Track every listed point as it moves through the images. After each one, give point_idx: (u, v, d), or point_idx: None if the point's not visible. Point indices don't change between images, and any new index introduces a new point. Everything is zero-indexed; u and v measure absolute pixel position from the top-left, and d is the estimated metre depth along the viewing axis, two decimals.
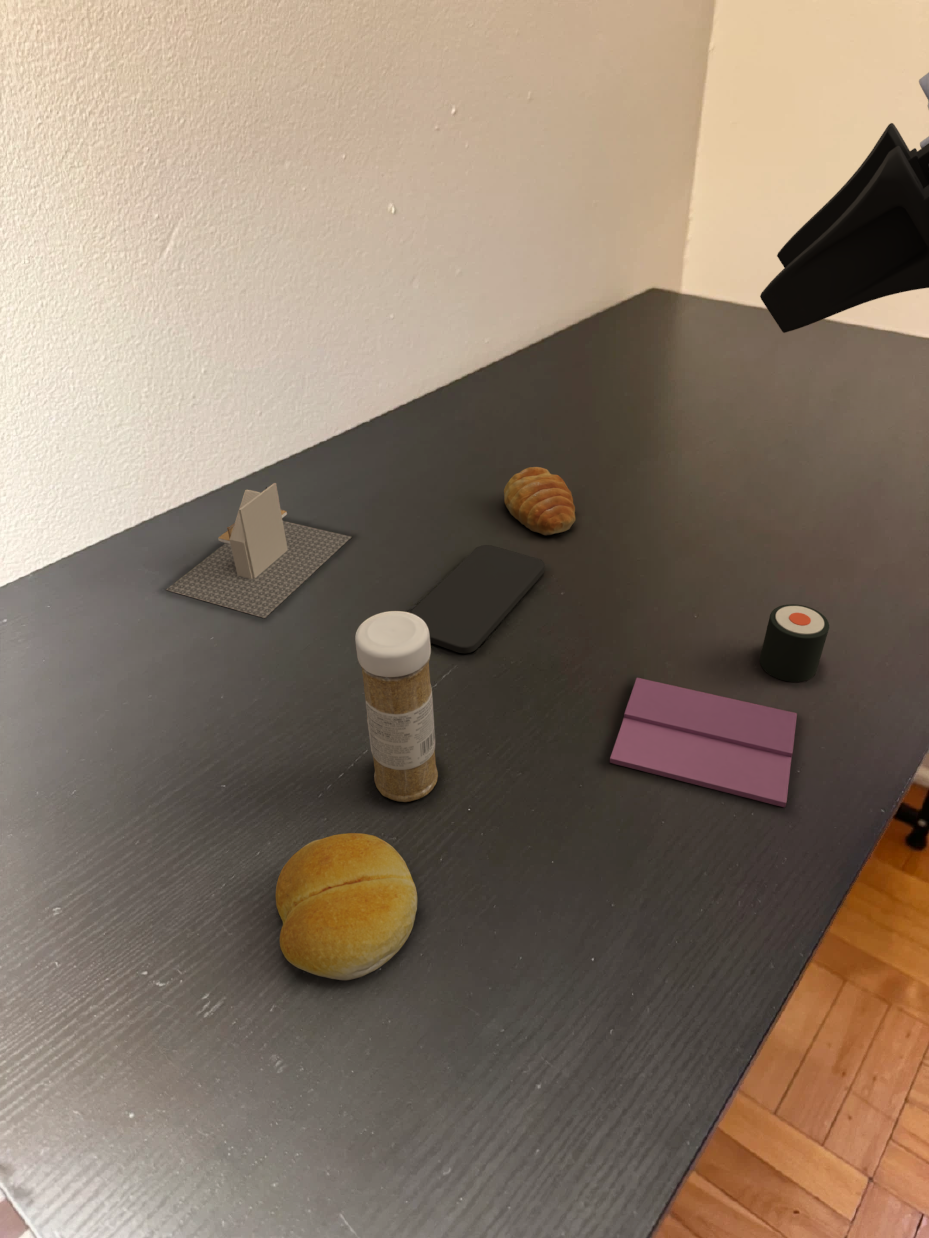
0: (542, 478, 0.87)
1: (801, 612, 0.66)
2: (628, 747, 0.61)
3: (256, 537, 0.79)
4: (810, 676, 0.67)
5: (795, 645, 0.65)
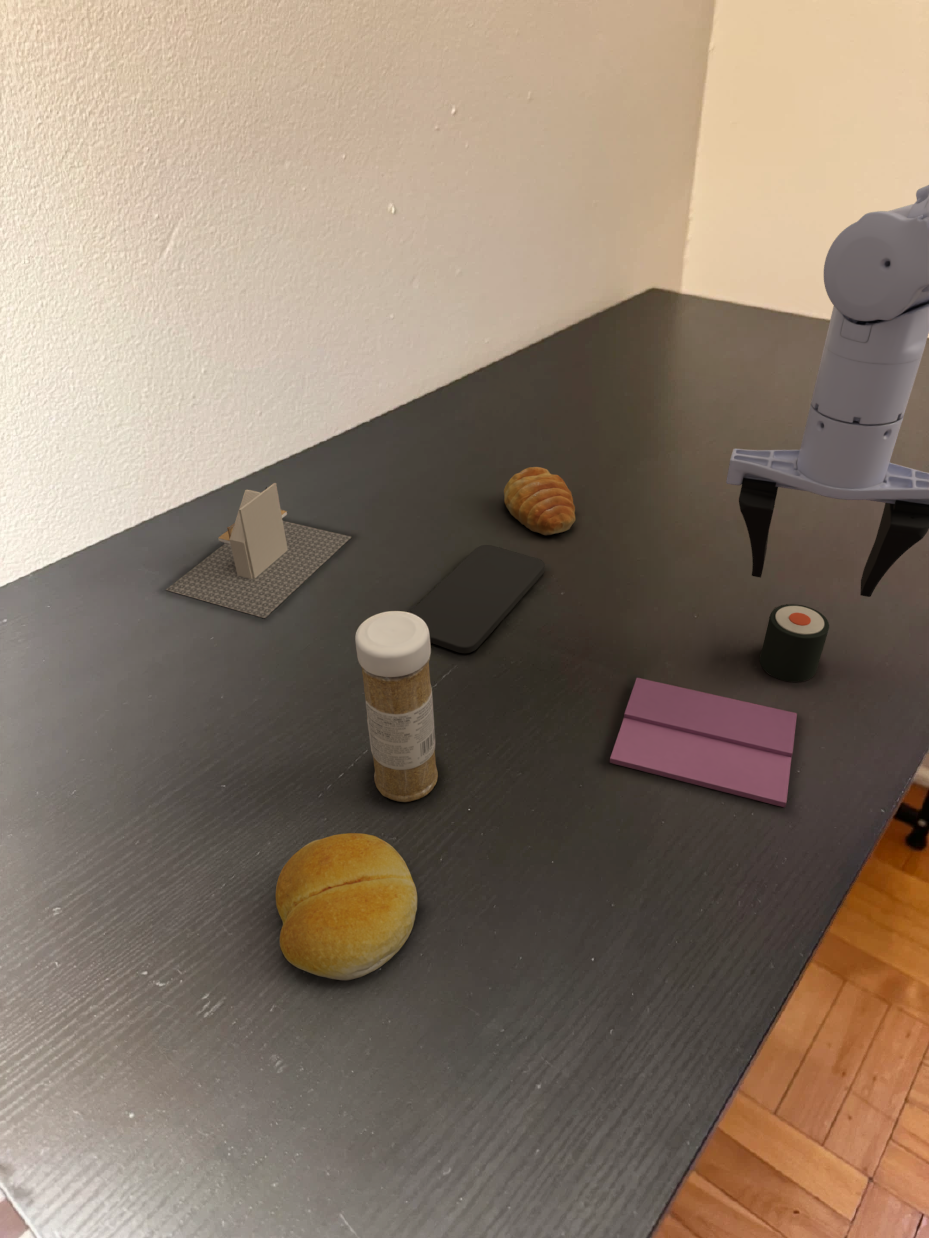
0: (542, 478, 0.87)
1: (801, 612, 0.66)
2: (628, 747, 0.61)
3: (256, 537, 0.79)
4: (810, 676, 0.67)
5: (795, 645, 0.65)
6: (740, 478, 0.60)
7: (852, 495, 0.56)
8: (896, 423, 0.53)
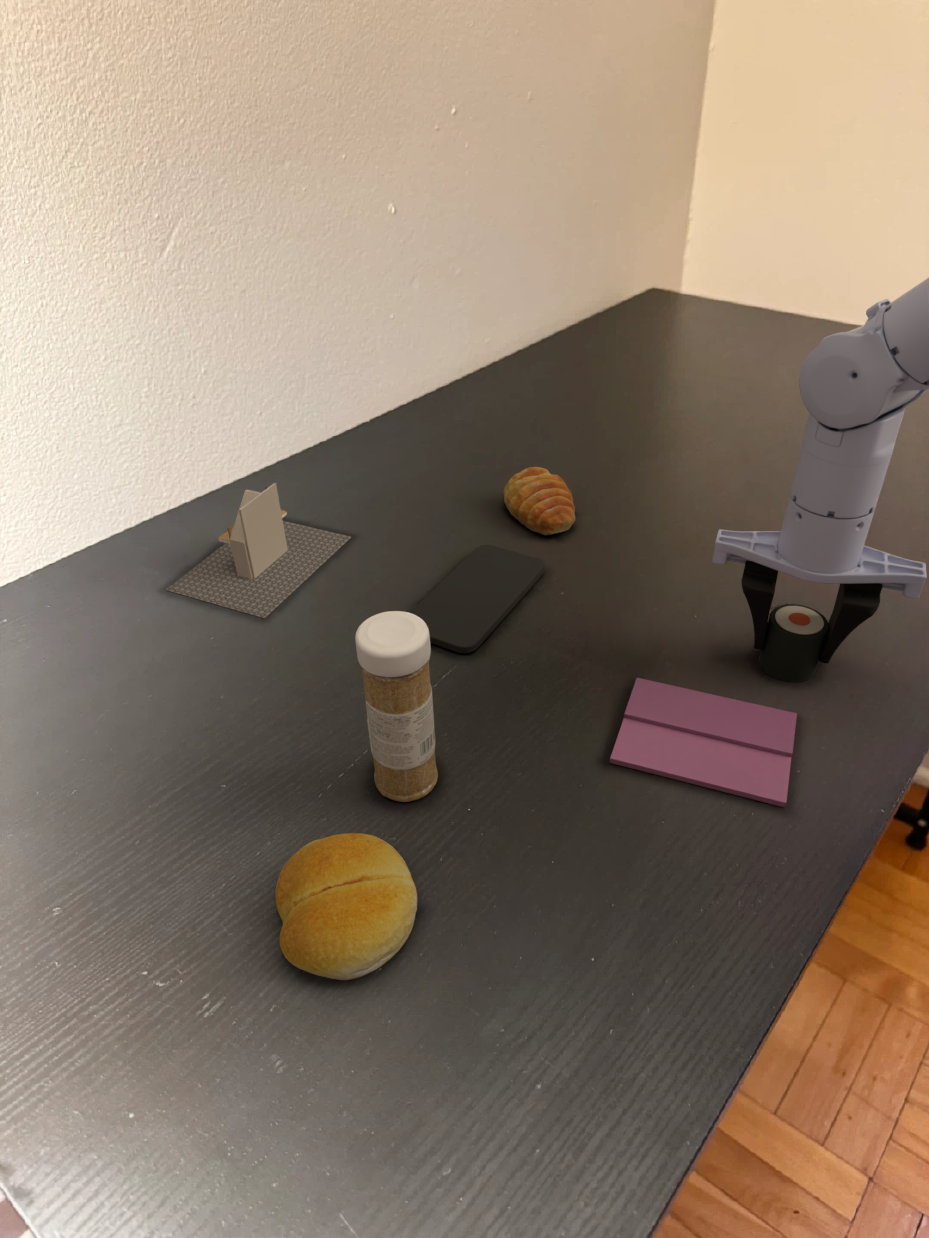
0: (542, 478, 0.87)
1: (800, 612, 0.66)
2: (628, 747, 0.61)
3: (256, 537, 0.79)
4: (810, 676, 0.67)
5: (794, 645, 0.65)
6: (725, 558, 0.64)
7: (828, 579, 0.60)
8: (868, 516, 0.58)
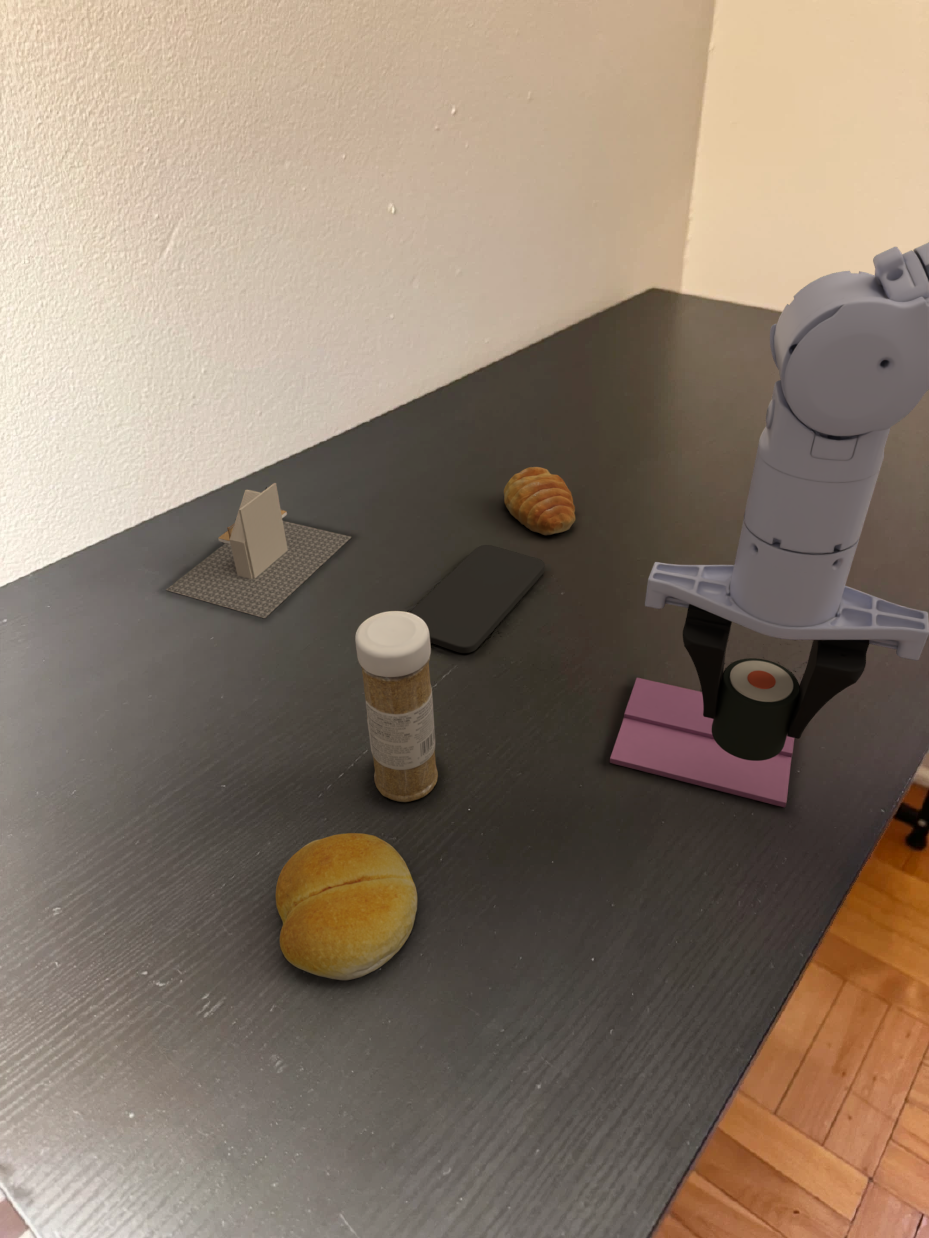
0: (542, 478, 0.87)
1: (764, 670, 0.51)
2: (628, 747, 0.61)
3: (256, 537, 0.79)
4: (775, 753, 0.51)
5: (754, 716, 0.49)
6: (661, 601, 0.48)
7: (795, 635, 0.44)
8: (848, 550, 0.42)
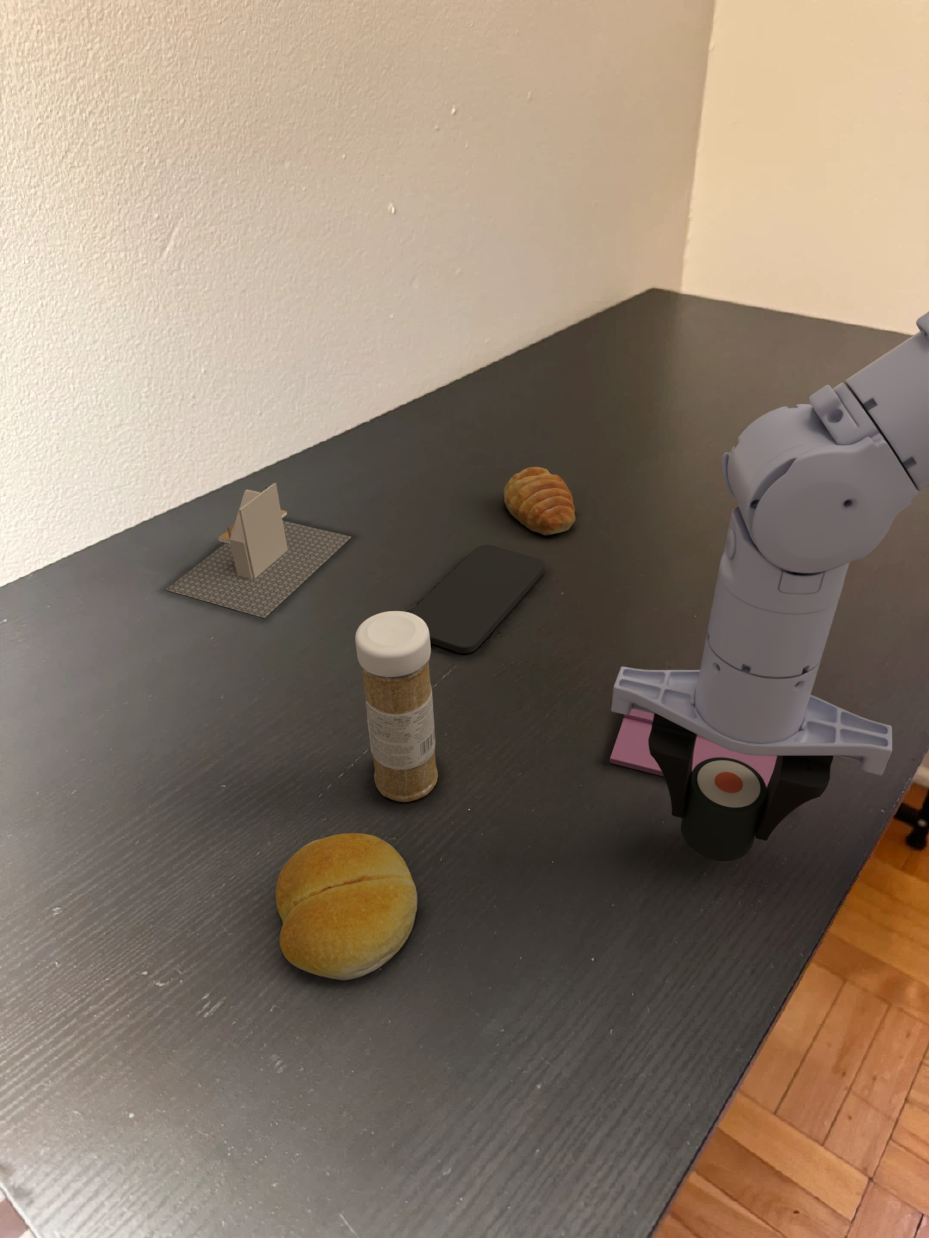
0: (542, 478, 0.87)
1: (731, 771, 0.51)
2: (628, 747, 0.61)
3: (256, 537, 0.79)
4: (744, 853, 0.51)
5: (721, 821, 0.49)
6: (627, 707, 0.48)
7: (758, 751, 0.44)
8: (810, 671, 0.42)
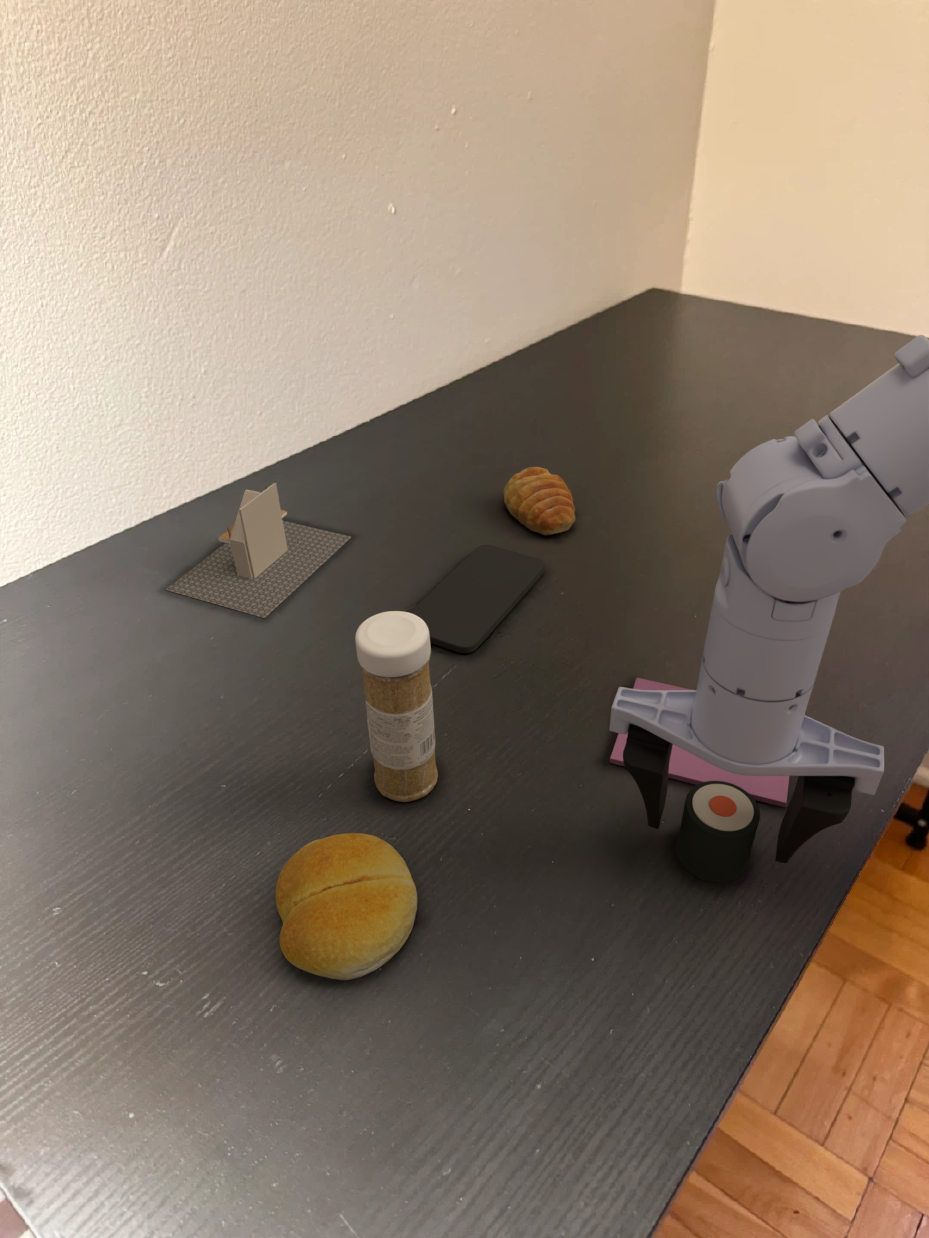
0: (542, 478, 0.87)
1: (725, 794, 0.52)
2: None
3: (256, 537, 0.79)
4: (738, 875, 0.52)
5: (715, 844, 0.50)
6: (625, 727, 0.49)
7: (753, 771, 0.45)
8: (803, 695, 0.43)
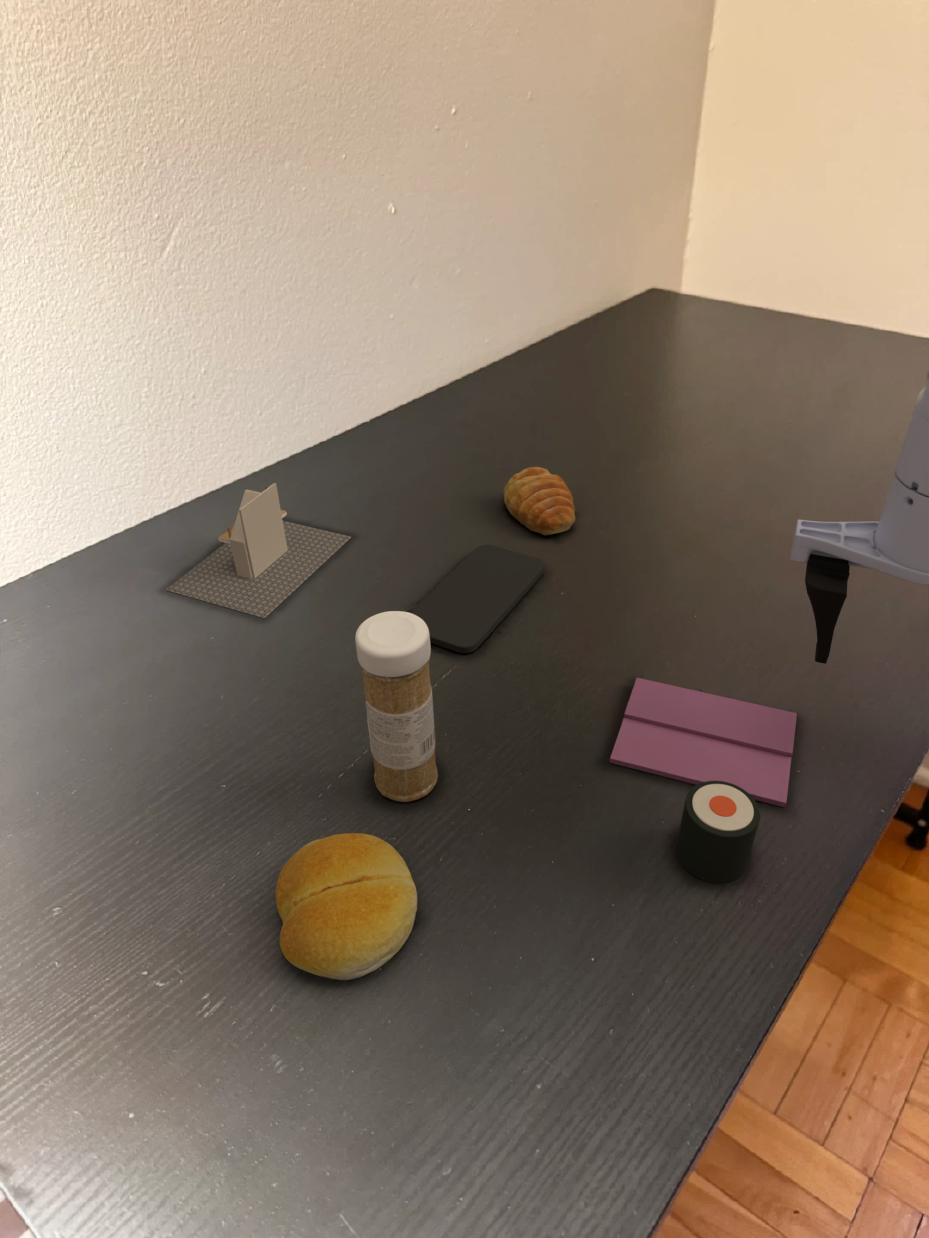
0: (542, 478, 0.87)
1: (725, 794, 0.52)
2: (628, 747, 0.61)
3: (256, 537, 0.79)
4: (738, 875, 0.52)
5: (715, 844, 0.50)
6: (806, 555, 0.52)
7: None
8: None
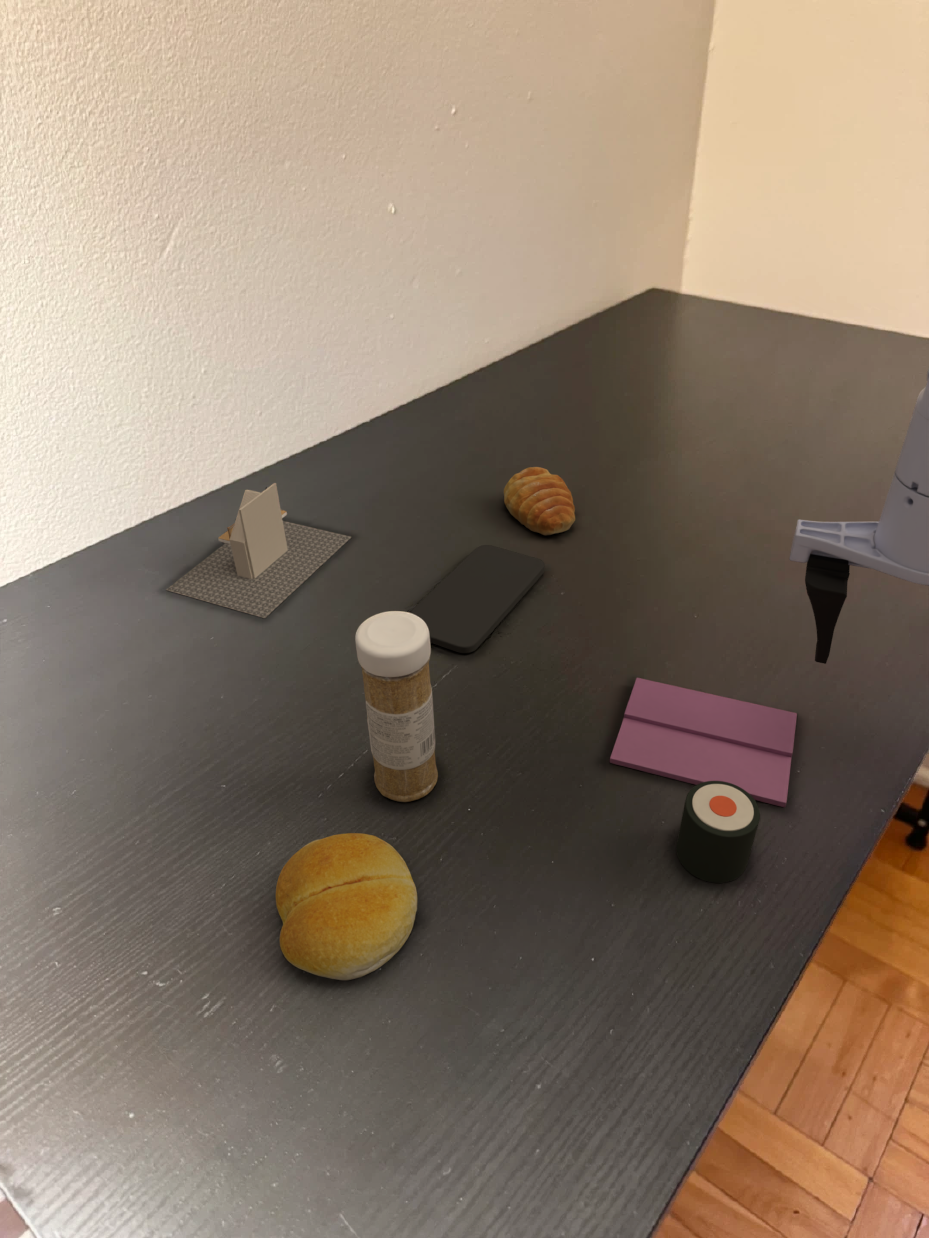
0: (542, 478, 0.87)
1: (725, 794, 0.52)
2: (628, 747, 0.61)
3: (256, 537, 0.79)
4: (738, 875, 0.52)
5: (715, 844, 0.50)
6: (806, 555, 0.52)
7: None
8: None
